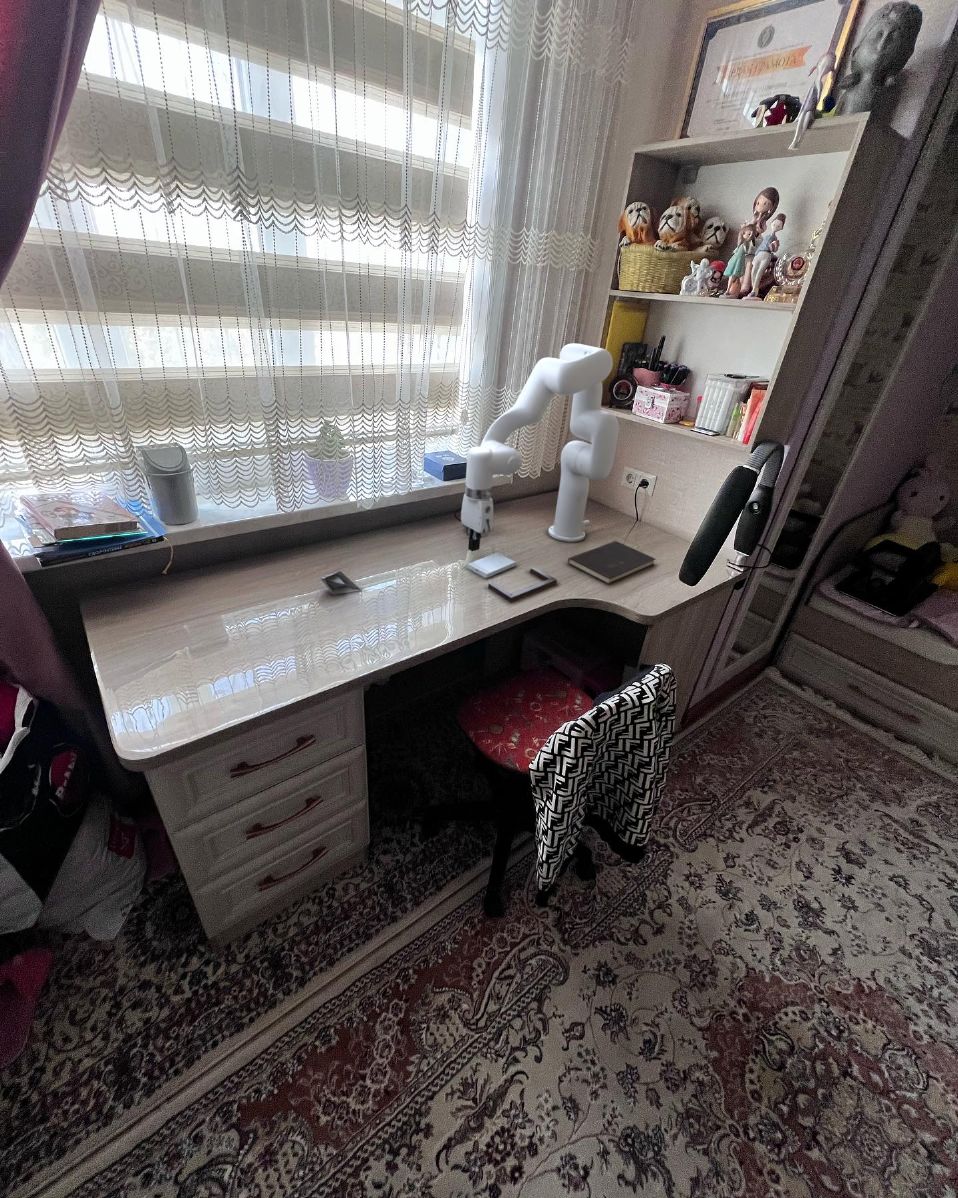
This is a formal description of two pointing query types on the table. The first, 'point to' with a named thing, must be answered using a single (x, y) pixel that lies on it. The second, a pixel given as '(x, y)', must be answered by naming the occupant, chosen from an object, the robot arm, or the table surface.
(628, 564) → the hardcover book
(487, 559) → the hard drive
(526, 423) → the robot arm
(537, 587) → the dark brown open frame
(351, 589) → the paper boat
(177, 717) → the table surface
